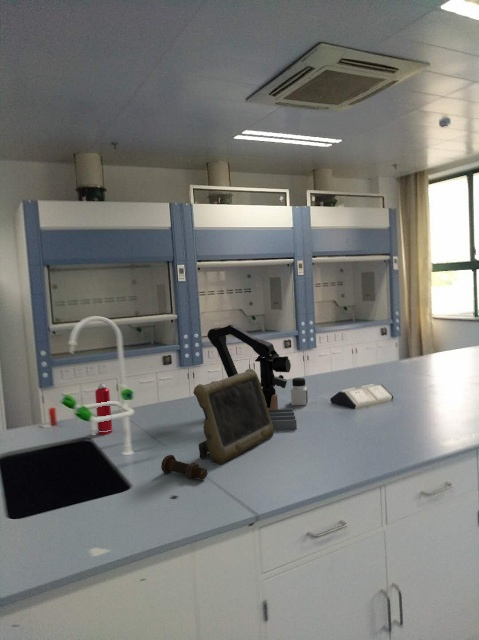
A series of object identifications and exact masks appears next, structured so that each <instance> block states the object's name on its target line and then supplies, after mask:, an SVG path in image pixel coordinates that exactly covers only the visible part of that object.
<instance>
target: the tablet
mask: <svg viewBox="0 0 479 640" xmlns="http://www.w3.org/2000/svg"><path fill="white" fill-rule="evenodd" d="M260 382H261V379H260V378H259V375H258V373H257V372H256V371H255V370H254V369H253V368H247V369H246V370H245V371H244V372H241V373H238V374H236V375H234V376H232V377H229V378H228V377H226V378H223V379H220V380H215V381H211V382H209V383H206V384H201V383H198V384H197V385H196V386H195V387H194V390H193V394H194V396H195V397H196V399H197V402H198V405H199V407H200V408H201V409H202V411H203V415H204V417H205V418H204V420H203V434H204V436H205V440H204V441H202V442H200V443H198V451H199V458H200V459H201V460H204V459H206V458H207V457H208V453H209V456H210V459H211V462H212V463H213V464H215V465H223V464H224V463H226V462H227V461H229V460H230V459H232V458H234V457H237V456H238V455H240V454H242V453H244V452H246V450H249V449H251V448H252V447H254V446H256V445H257V444H259V443H262V442H263V441H265V440H267V439H268V438H271V437H273V436H274V433H275V430H274V429H273V425H272V421H271V418H270V415H269V411H268V409H267V403H266V401H265V396H264V394H263V392H262V389H261V388H262V387H261V384H260Z"/></svg>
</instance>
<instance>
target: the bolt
mask: <svg viewBox="0 0 479 640" xmlns="http://www.w3.org/2000/svg"><path fill="white" fill-rule="evenodd" d="M160 467H161V471H162V472H163V473H164V474H167V475H168V474H170V473H171V472H173V473H174V472H175V473H179V474H181V475H184V476H186V478H187V479H188V480H192V481H193V480H195V479H199V480H201V481H203V480H205V479H206V477H208V475H209V474H208V469H207V468H205V467H200V465H199V464H198V463H197V462H191V463H187V462H182V461H178V460H177V459H176V457H175V456H174V455H173V454H168V455H165V457H163V459H162V461H161V465H160Z"/></svg>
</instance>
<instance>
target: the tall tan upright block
mask: <svg viewBox="0 0 479 640" xmlns="http://www.w3.org/2000/svg"><path fill="white" fill-rule="evenodd" d="M278 402H279V401H278V394H277V393H276V395H273V396H272V398H271V404H270V408H267V409H279V406H278V405H279V403H278Z"/></svg>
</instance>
